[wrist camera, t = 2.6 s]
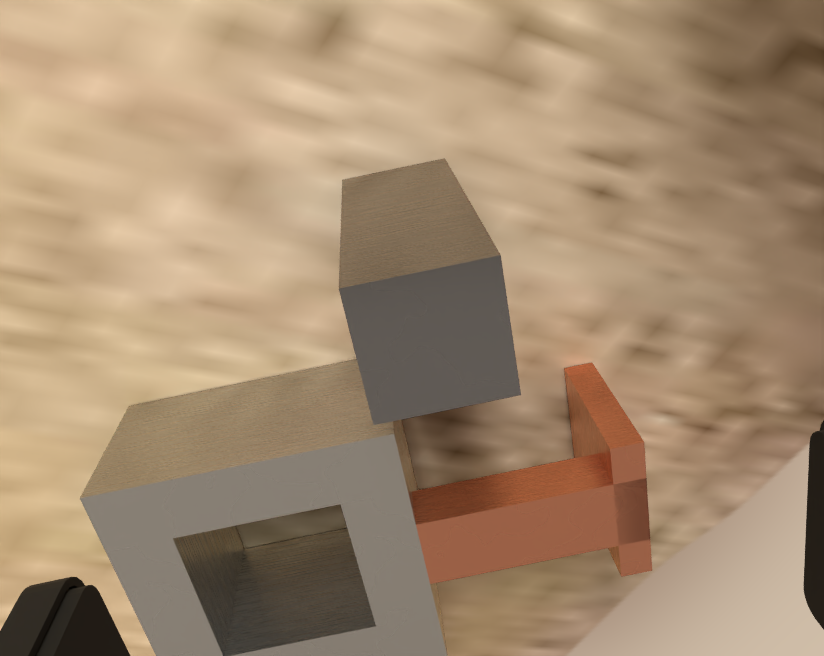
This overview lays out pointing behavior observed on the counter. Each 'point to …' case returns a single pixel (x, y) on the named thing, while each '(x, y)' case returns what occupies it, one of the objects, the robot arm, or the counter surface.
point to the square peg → (423, 294)
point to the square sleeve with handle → (362, 508)
